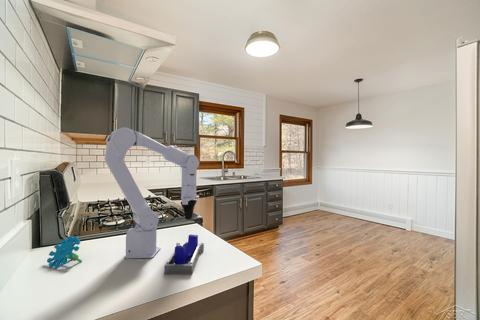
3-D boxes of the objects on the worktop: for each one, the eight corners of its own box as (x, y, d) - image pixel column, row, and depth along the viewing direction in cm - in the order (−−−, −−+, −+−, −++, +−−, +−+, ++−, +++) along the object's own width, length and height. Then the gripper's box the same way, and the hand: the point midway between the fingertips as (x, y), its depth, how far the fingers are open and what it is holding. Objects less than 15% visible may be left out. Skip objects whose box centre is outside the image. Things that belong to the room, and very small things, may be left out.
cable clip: (186, 250, 82) (186, 234, 82) (197, 251, 81) (197, 235, 81) (170, 265, 70) (170, 247, 70) (183, 267, 70) (183, 248, 70)
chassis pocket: (160, 274, 65) (160, 264, 65) (176, 249, 82) (176, 241, 82) (195, 274, 65) (195, 264, 65) (203, 249, 83) (203, 242, 83)
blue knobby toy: (39, 259, 70) (67, 231, 76) (54, 266, 74) (79, 238, 80) (57, 272, 65) (85, 241, 71) (72, 279, 69) (97, 249, 75)
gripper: (195, 187, 82) (195, 224, 82) (201, 182, 96) (201, 214, 96) (176, 187, 82) (176, 224, 82) (185, 182, 96) (185, 214, 96)
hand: (188, 219), depth 89 cm, fingers closed
